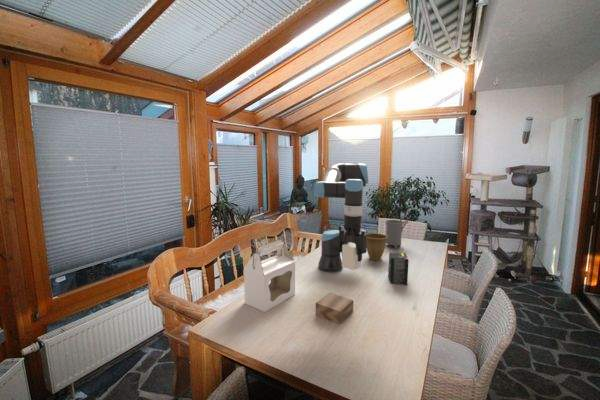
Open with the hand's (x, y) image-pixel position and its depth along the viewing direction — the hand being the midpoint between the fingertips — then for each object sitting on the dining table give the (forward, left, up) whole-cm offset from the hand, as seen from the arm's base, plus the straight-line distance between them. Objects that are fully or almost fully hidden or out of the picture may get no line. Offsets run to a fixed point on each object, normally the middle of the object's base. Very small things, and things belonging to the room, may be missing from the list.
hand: (351, 265), depth 128 cm
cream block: (0, 0, 0) cm, 0 cm away
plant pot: (-28, +67, -21) cm, 75 cm away
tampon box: (0, +45, -21) cm, 49 cm away
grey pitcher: (-33, +103, -21) cm, 110 cm away
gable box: (-32, -20, -21) cm, 43 cm away
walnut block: (-2, -8, -21) cm, 22 cm away
